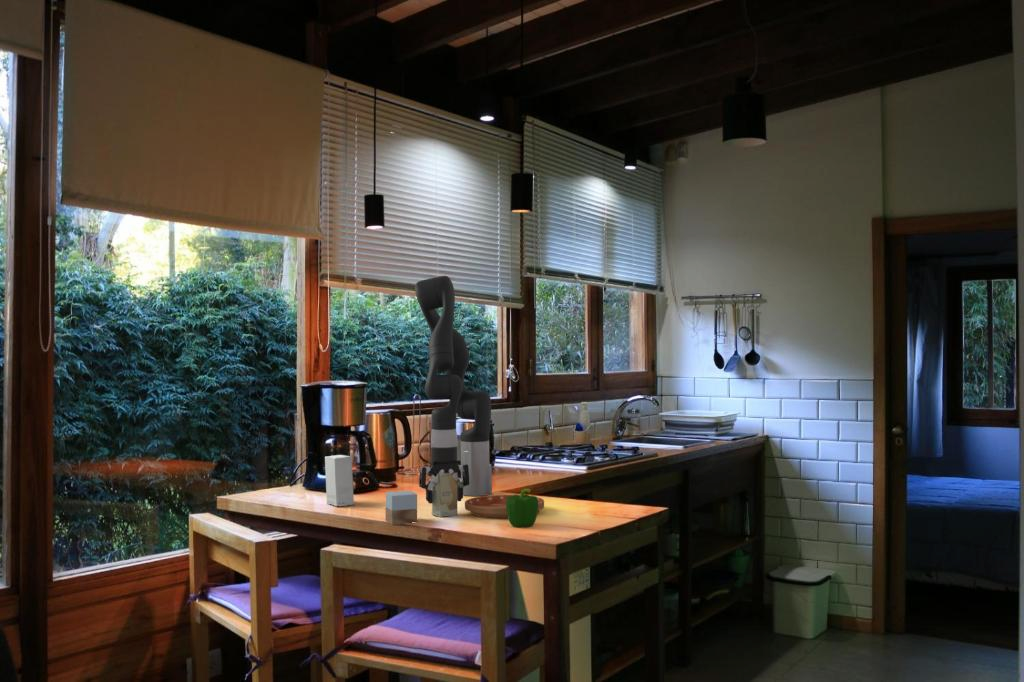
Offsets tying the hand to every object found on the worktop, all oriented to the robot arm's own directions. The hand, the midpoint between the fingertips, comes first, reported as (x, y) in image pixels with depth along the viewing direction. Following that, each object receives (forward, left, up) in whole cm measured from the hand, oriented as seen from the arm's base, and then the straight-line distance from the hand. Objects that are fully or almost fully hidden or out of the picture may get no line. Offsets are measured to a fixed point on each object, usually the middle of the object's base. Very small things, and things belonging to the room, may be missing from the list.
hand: (444, 501), depth 260 cm
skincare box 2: (0, 0, -4) cm, 4 cm away
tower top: (+14, +4, 0) cm, 14 cm away
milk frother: (-23, -69, -4) cm, 73 cm away
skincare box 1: (+24, -30, -4) cm, 39 cm away
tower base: (+14, +4, -4) cm, 15 cm away
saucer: (-17, +3, -4) cm, 18 cm away
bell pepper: (-14, +23, -4) cm, 27 cm away
